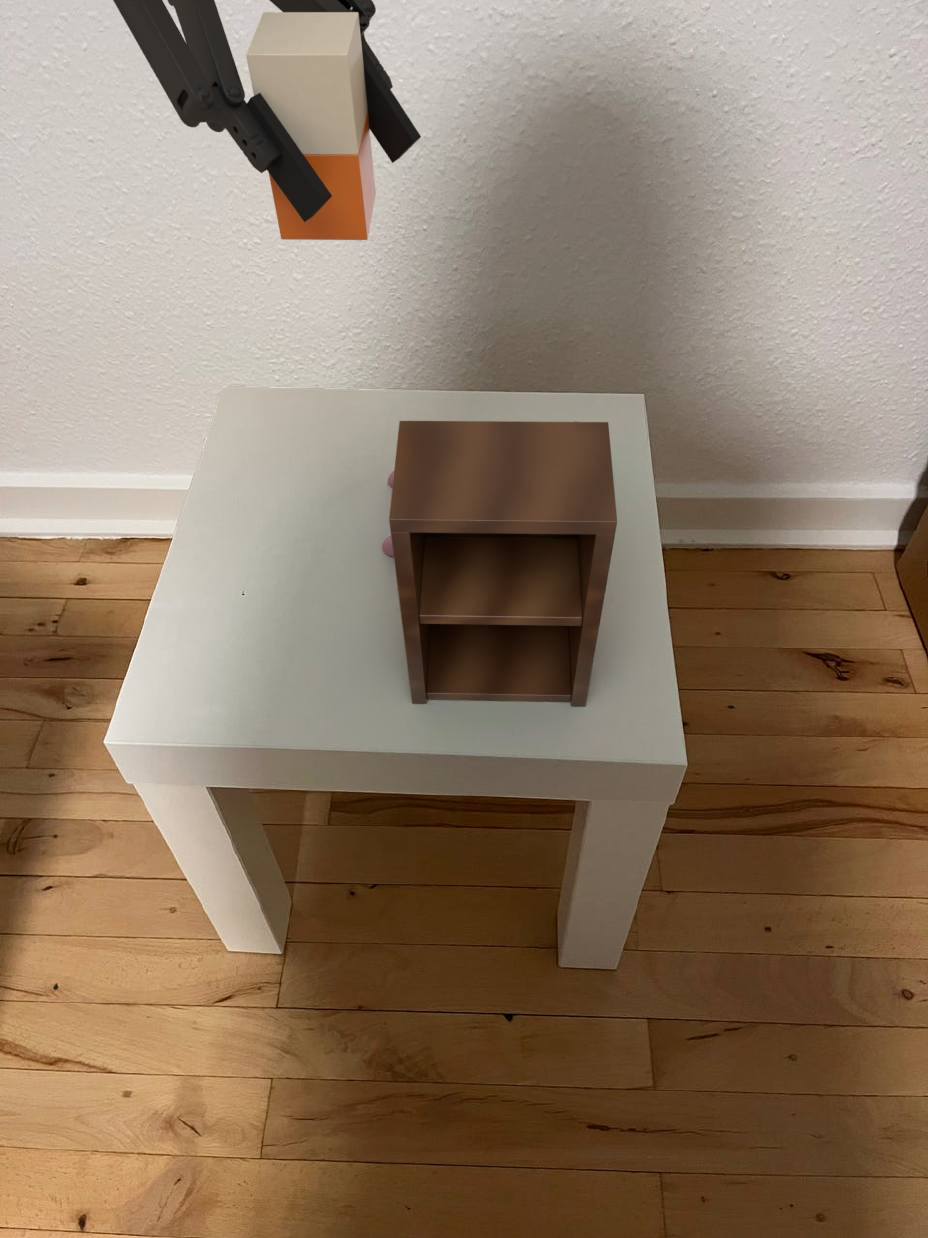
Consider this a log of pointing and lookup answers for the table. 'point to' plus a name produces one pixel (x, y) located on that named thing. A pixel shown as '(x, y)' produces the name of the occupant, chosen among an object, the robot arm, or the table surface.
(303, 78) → the cream and orange block
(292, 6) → the robot arm
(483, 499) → the shelf
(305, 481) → the table surface
